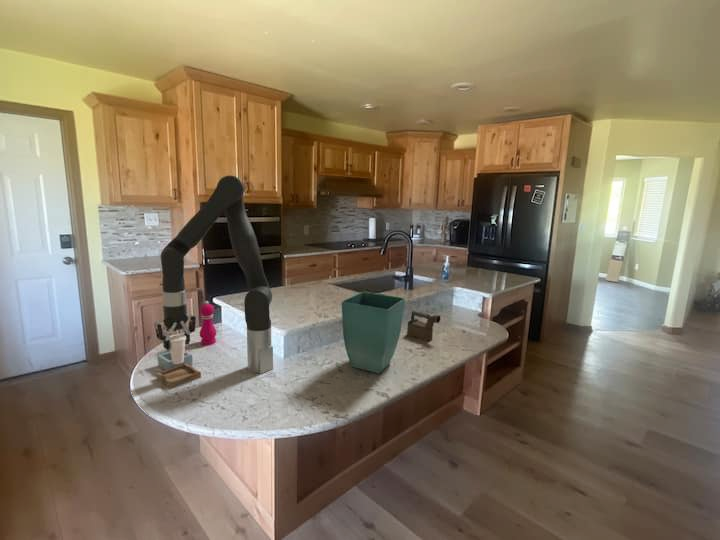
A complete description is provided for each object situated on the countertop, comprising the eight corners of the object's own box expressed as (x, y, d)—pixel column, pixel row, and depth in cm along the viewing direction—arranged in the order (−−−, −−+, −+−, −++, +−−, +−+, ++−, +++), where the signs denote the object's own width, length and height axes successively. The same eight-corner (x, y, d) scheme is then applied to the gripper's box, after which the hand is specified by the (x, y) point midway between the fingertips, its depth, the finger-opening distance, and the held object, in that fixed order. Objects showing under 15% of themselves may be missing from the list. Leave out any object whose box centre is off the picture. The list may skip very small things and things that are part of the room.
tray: (201, 377, 140) (200, 372, 140) (171, 388, 132) (171, 383, 131) (186, 368, 147) (185, 363, 146) (157, 378, 138) (156, 373, 138)
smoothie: (175, 367, 134) (172, 330, 131) (164, 362, 137) (162, 326, 134) (191, 361, 139) (189, 325, 136) (181, 356, 142) (178, 321, 140)
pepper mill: (213, 346, 169) (211, 303, 165) (197, 345, 169) (195, 302, 165) (219, 340, 176) (217, 299, 172) (204, 339, 176) (202, 298, 172)
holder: (192, 365, 150) (192, 354, 149) (169, 373, 143) (168, 362, 142) (181, 358, 155) (180, 348, 154) (158, 365, 148) (157, 355, 147)
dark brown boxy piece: (431, 343, 181) (434, 317, 178) (405, 334, 192) (407, 309, 189) (440, 339, 187) (443, 314, 184) (415, 330, 198) (416, 306, 195)
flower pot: (360, 351, 169) (362, 290, 164) (401, 360, 161) (405, 297, 155) (338, 368, 152) (340, 301, 146) (384, 380, 143) (387, 309, 138)
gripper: (158, 309, 126) (161, 355, 129) (199, 300, 137) (201, 343, 140) (148, 304, 130) (152, 349, 134) (189, 296, 141) (191, 338, 145)
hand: (177, 346), depth 137 cm, fingers closed on smoothie, 6 cm apart
